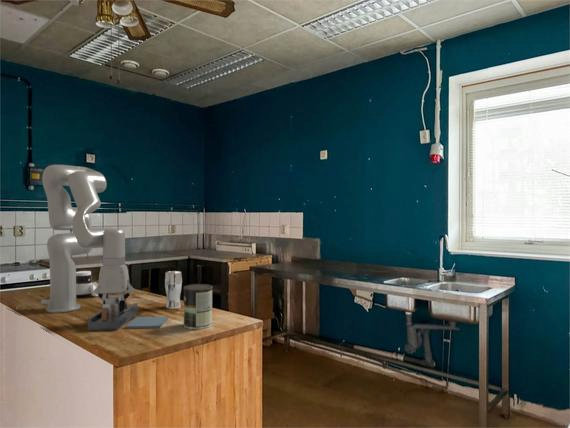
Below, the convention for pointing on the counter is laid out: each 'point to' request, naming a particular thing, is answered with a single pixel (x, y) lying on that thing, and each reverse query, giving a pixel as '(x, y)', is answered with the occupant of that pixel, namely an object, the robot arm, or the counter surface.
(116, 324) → the body
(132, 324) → the mat
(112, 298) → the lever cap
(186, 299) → the coffee can
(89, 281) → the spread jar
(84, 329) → the counter surface
